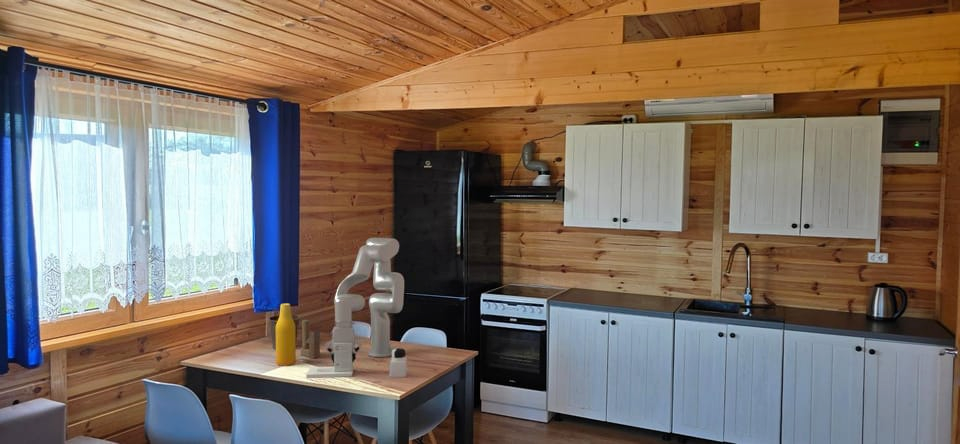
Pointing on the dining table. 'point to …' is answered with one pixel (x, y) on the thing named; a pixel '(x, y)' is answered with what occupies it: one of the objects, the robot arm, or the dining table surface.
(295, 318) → the plant pot
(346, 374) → the board
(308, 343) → the wooden block
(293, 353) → the beer bottle
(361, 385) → the dining table surface
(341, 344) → the small box
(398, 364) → the medicine bottle
